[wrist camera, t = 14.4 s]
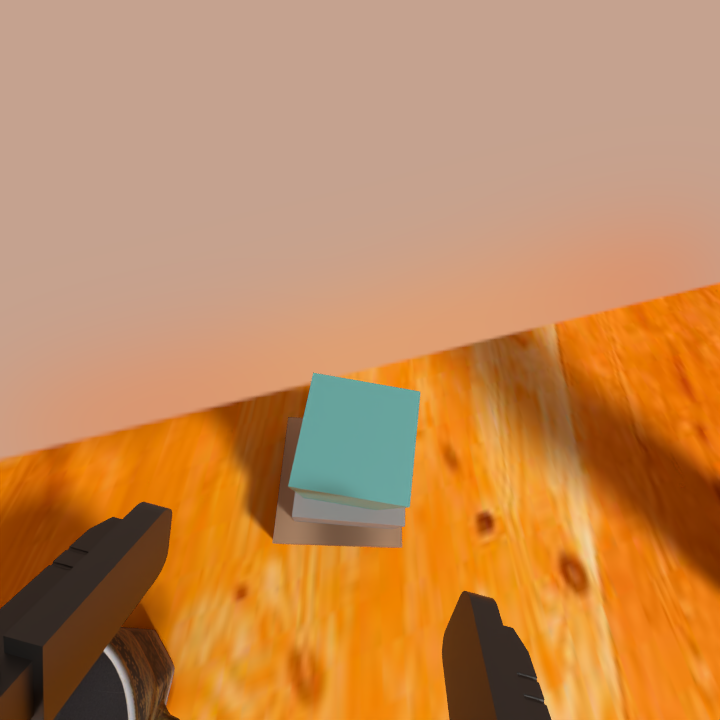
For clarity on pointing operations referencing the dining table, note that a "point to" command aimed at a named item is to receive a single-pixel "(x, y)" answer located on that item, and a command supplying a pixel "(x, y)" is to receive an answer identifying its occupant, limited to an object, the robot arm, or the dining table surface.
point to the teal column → (356, 444)
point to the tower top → (345, 514)
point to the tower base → (318, 532)
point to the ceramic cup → (125, 681)
